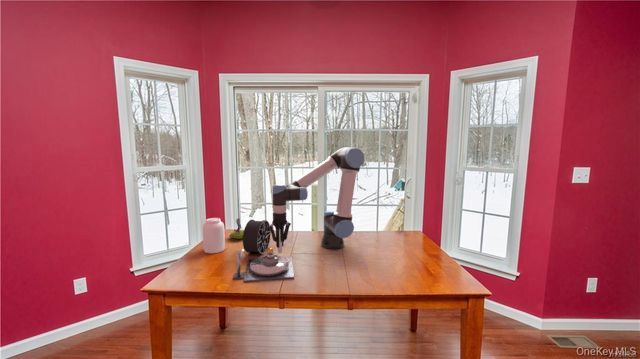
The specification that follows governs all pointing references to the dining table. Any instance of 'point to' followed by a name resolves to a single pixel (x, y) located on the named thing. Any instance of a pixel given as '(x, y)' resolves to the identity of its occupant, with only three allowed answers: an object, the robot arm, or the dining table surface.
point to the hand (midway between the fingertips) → (279, 252)
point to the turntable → (264, 270)
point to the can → (213, 236)
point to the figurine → (237, 231)
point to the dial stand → (239, 274)
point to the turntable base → (285, 275)
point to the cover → (270, 259)
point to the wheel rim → (256, 236)
